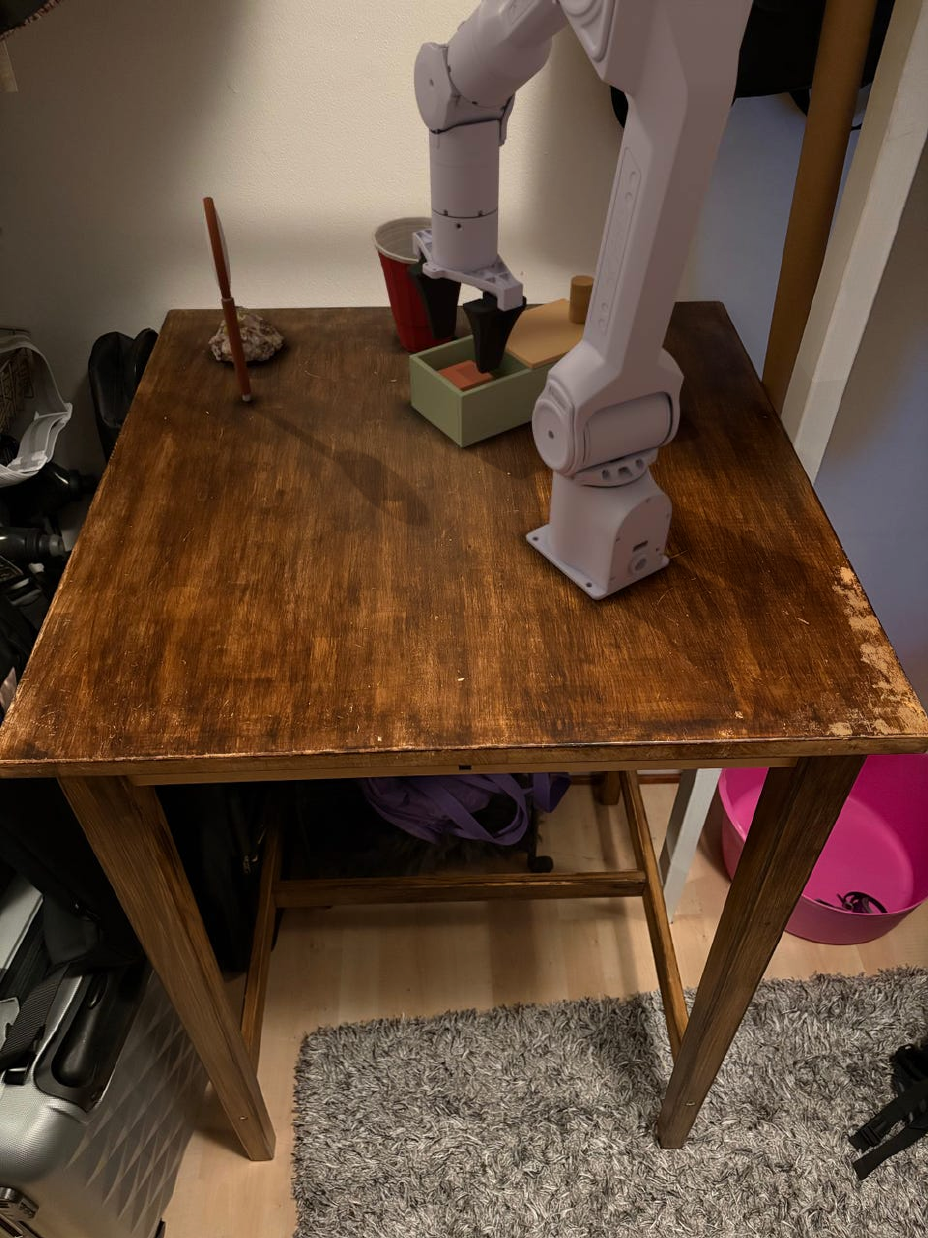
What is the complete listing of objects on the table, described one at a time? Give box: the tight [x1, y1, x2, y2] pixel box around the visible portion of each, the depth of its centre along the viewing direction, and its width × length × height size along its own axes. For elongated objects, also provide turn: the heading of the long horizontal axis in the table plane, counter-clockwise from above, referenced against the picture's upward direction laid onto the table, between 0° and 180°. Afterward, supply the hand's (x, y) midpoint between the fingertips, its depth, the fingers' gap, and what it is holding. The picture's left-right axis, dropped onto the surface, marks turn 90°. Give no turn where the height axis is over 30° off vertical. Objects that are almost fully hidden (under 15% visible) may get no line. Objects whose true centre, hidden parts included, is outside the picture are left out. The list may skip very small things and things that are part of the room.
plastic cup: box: [370, 216, 463, 354], centre depth 98 cm, size 11×11×12 cm
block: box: [437, 360, 493, 392], centre depth 89 cm, size 4×4×4 cm
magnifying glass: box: [202, 196, 252, 402], centre depth 86 cm, size 9×2×20 cm, turn 14°
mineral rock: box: [207, 305, 285, 363], centre depth 101 cm, size 11×4×8 cm
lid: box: [504, 274, 595, 369], centre depth 89 cm, size 9×11×5 cm
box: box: [408, 334, 558, 449], centre depth 90 cm, size 9×11×6 cm
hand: (465, 352), depth 86 cm, fingers open, 7 cm apart
